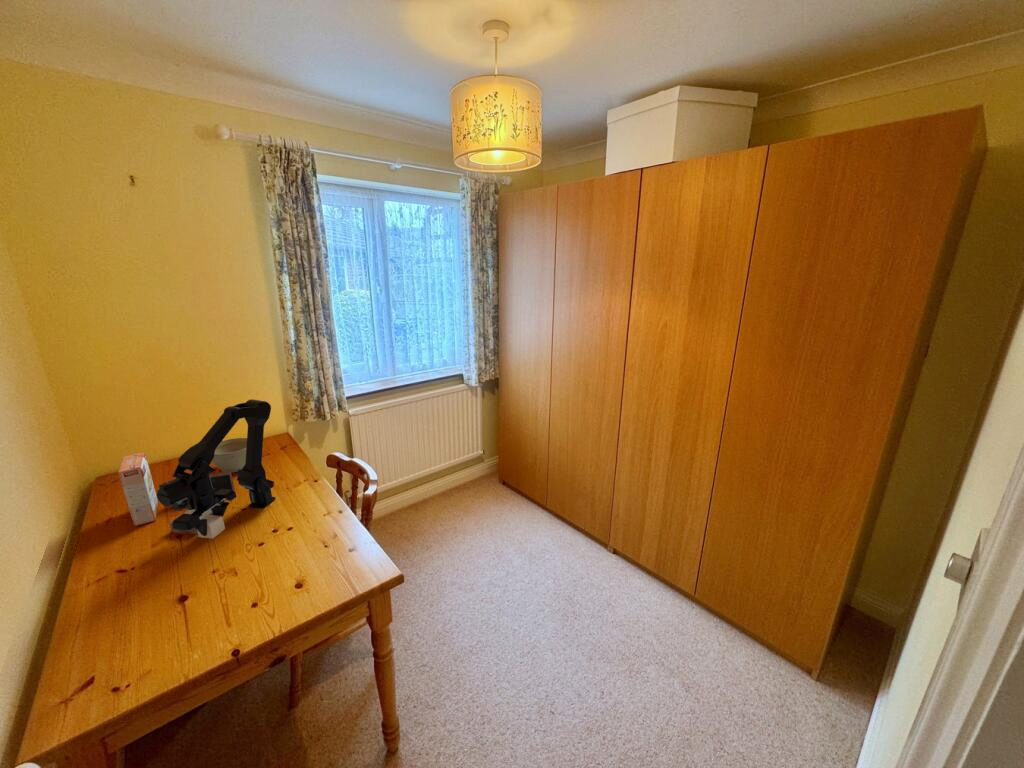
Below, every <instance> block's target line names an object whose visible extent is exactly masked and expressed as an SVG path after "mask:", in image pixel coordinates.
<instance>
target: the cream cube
mask: <svg viewBox="0 0 1024 768" xmlns="http://www.w3.org/2000/svg"><path fill="white" fill-rule="evenodd" d="M204 519H207V535H206V536H203V535H202V534H201V533H200V532H199V531H198V530H197V532H198V534H197V535H198V538H203V539H214V538H216V537H217V536H218V535H219V534H221V533H222V532H223V531H224V530H226V526H225V522H224V516H223V517H222V516H215V515H208V516H206V517H205V518H204Z"/></svg>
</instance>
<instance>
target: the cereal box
mask: <svg viewBox="0 0 1024 768" xmlns="http://www.w3.org/2000/svg"><path fill="white" fill-rule="evenodd" d="M118 475H119V479H120V482H121V486H122V490H123V492H124V496H125V499H126V502H127V505H128V509H129V513H130V517H131V519H132V523H133V525H134V527H137V526H140V525H144V524H148V523H151V522H155V521H156V519H157V512H158V505H159V500H158V498H157V491H156V489H155V485H154V483H153V477H152V473H151V470H150V466H149V462H148V459H147V456H146V453H145V452H140V453H135V454H130V455H125V456H123V458H122V462H121V464H120V466H119V470H118Z"/></svg>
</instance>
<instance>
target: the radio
mask: <svg viewBox="0 0 1024 768" xmlns="http://www.w3.org/2000/svg"><path fill="white" fill-rule="evenodd" d="M232 457H233V456H232ZM232 457H230V458H232ZM228 459H229V458H228ZM226 460H227V459H226ZM224 461H225V460H224ZM221 462H222V461H221ZM219 463H220V462H219ZM217 464H218V463H217ZM209 466H210V467H213V466H216V464H214V463H213V464H212V465H209ZM232 474H233V473H231V472H218V473H210V479H211V483H212V487H213V488H216V489H217V491H219V490H220V489H230V490H234V491H235V490H236V489H235V484H234V479H233V476H232ZM217 491H216V492H217ZM216 492H215V493H216ZM235 492H236V491H235Z"/></svg>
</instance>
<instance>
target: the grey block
mask: <svg viewBox="0 0 1024 768" xmlns="http://www.w3.org/2000/svg"><path fill="white" fill-rule="evenodd" d="M194 511H195V509H193V510H189V509H188V510H186V511H185V512H184V513H182V514H192V513H194ZM182 514H180V515H179V516H181V515H182ZM208 515H213V513H212V510H211V509H210V510H208V511H207V512H205V513H204V514H203V515H202V517H203V519H204V518H205V517H206V516H208ZM172 522H173V520H171V521H170V522H169V526H170V530H171V532H172V533H176V534H177V533H178V534H187V535H188V534H190V535H198V532H197V529H196V528H195V527H194V528H192V529H191V530H180V529H173V527H172Z"/></svg>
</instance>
